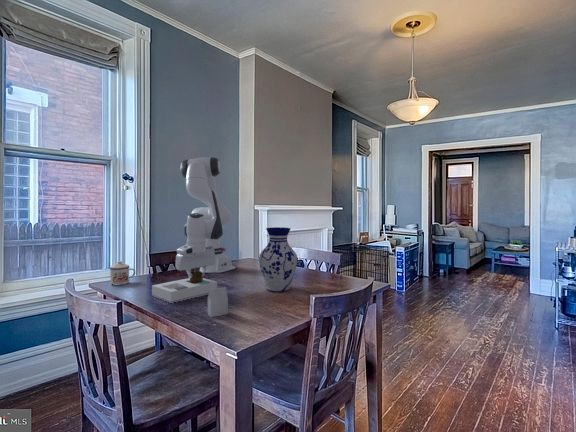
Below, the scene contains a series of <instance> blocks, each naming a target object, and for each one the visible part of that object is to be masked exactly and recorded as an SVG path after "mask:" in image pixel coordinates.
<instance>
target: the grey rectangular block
mask: <svg viewBox="0 0 576 432" xmlns="http://www.w3.org/2000/svg"><path fill="white" fill-rule="evenodd" d="M207 315H208V316H209V317H210V318H214V317H219V316H223V315H224V316H225V315H229V297H228V292H227V287H225V286H224V287H223V286H222V287H217V288H216V289H209V294H208V296H207Z"/></svg>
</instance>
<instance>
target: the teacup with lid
mask: <svg viewBox="0 0 576 432" xmlns="http://www.w3.org/2000/svg"><path fill="white" fill-rule="evenodd" d="M109 270H110V273H109V275H110V285H111V284H125V285H127V284H126V283H128V284H130V279H131V278H133V277H134V276H135V275H136V269H134V268H131V267H130V265H129V264H126V263H124V262H123V261H122V260H118V261H117V262H116V263H114V264H113V265H110V267H109ZM130 271H133V274H132V275H131V276H130Z"/></svg>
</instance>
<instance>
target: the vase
mask: <svg viewBox="0 0 576 432" xmlns="http://www.w3.org/2000/svg"><path fill="white" fill-rule="evenodd" d="M265 230H266V232H267V233H268V236H269V241H268V243H267V245H266V246H265V247H264V248H263V249H262V251H261V252H260V254H259V257H258V264H259V268H260V271H261V275H262V279H263V281H264V283H265V287H266V291H268V292H271V293H285V292H289V290H290V288H291V284H292V283H293V279H294V275H295V272H296V269H297V265H298V255H297V253H296V252H295V250H294V249H293V247H291V246H290V243H289V242H288V235H289V233H290V231H291V227H277V226H276V227H265Z"/></svg>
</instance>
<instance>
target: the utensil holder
mask: <svg viewBox="0 0 576 432" xmlns="http://www.w3.org/2000/svg"><path fill="white" fill-rule="evenodd" d="M196 267H197V266H196ZM193 269H194V271H190V272H191V274H193V278H190V283H192V284H197V283H200V282H203V278H204V276H202V272H201V271H200V266H199V268H198V270H196V268H193Z"/></svg>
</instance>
